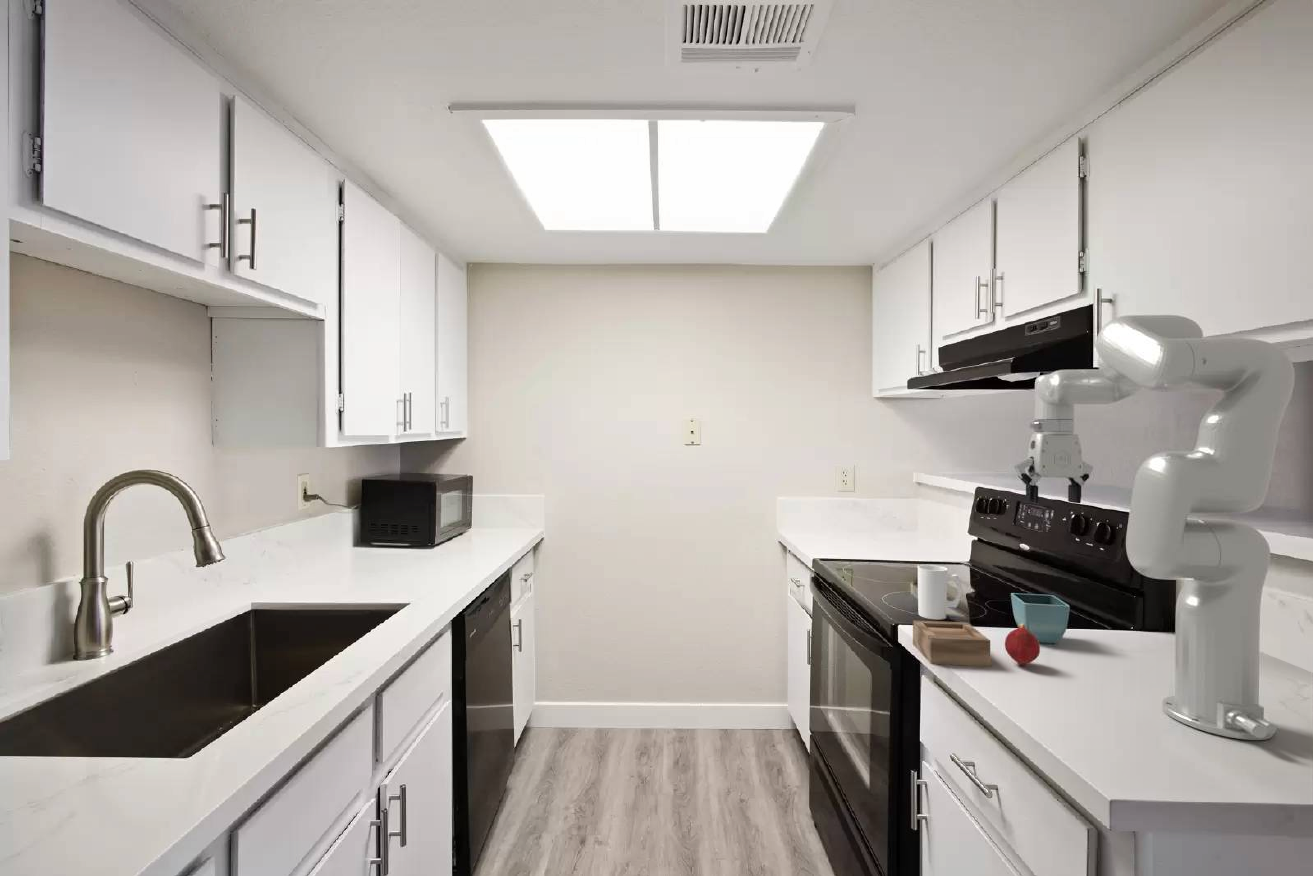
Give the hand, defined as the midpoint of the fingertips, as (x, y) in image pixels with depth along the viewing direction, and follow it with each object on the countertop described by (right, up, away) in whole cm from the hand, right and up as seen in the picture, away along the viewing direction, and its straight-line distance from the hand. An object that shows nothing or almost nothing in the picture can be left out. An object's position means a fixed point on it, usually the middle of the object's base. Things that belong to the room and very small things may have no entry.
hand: (1053, 502), depth 134 cm
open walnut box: (-31, -29, -15) cm, 46 cm away
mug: (-21, -30, +10) cm, 38 cm away
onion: (-20, -30, -21) cm, 41 cm away
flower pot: (-7, -30, -6) cm, 31 cm away
